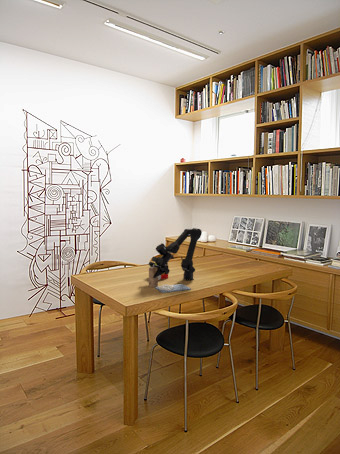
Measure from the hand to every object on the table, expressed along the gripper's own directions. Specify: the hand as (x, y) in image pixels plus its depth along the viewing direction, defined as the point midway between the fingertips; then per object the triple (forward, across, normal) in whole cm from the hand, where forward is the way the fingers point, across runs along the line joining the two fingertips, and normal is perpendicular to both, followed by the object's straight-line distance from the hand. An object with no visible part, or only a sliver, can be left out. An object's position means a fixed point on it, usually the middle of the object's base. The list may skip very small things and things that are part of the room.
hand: (151, 277), depth 231 cm
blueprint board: (-1, +13, +11) cm, 17 cm away
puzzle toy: (-9, -17, +18) cm, 27 cm away
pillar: (+4, 0, +6) cm, 7 cm away
